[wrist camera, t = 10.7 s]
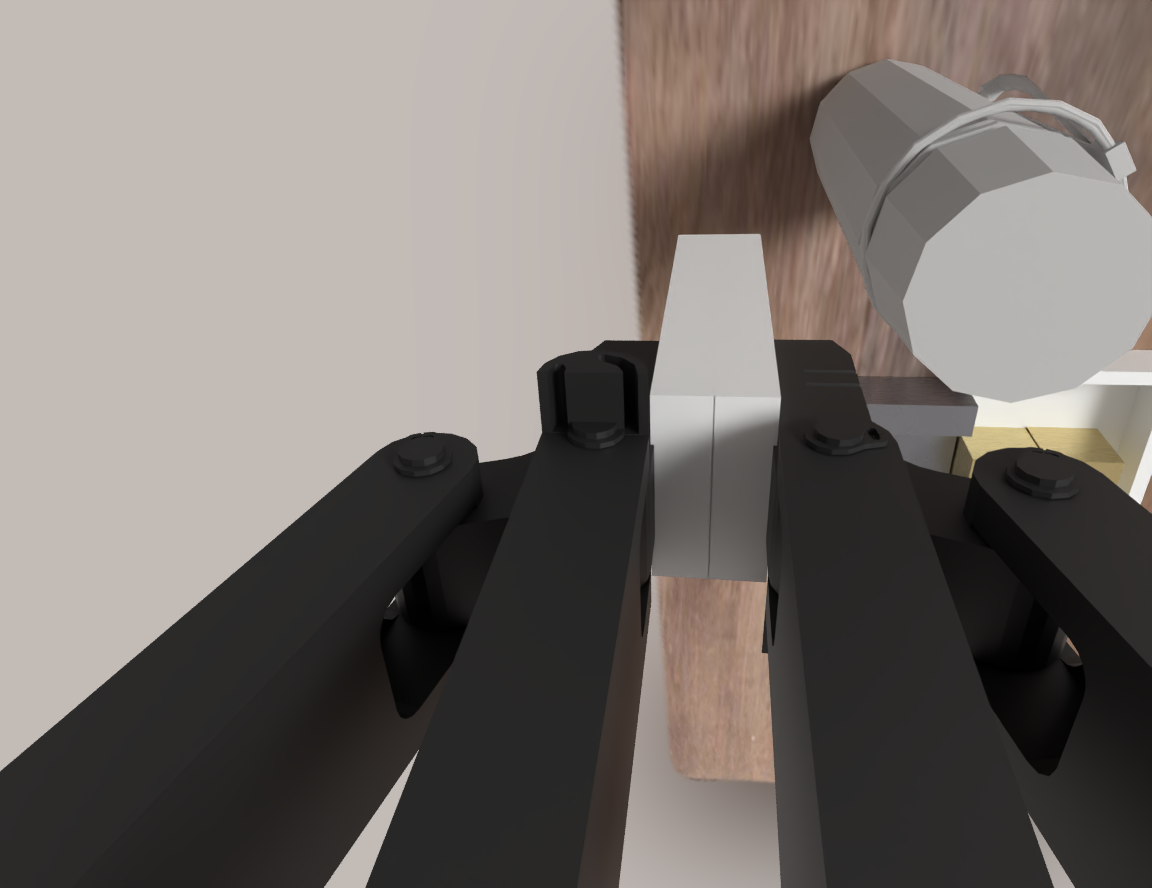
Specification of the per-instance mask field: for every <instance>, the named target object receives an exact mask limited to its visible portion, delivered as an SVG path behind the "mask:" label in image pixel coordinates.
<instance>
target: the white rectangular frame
mask: <svg viewBox="0 0 1152 888" xmlns="http://www.w3.org/2000/svg"><path fill="white" fill-rule="evenodd" d="M972 396H973V398H974V399H975V401H976V403H977V405H978V406H979V407H978V411H977V416H976V420H975V425H974V426H978V427H1010V428H1026V427H1059V428H1094V429H1098V430H1099V431H1100V433H1101V434H1102V435H1103V436H1104V438H1105V439H1106V440H1107V441H1108V443H1109V444H1110V445H1111V446H1112V448H1113V449H1114V450H1115V451H1116V453H1117V454H1118V455H1119V456H1120V458H1121V459H1122V460H1123V461H1124V463H1125V465H1124V468H1123V471H1122V474H1121V476H1120V479H1119V482H1118V485H1117V486H1118V487H1120V488H1121V489H1122V490H1123V491H1124V492H1126V493H1127V494H1128V495H1129V496H1130V497H1132V498H1133V499H1134V500H1135V501H1137V502H1138V503H1139V504H1141V501H1142V499H1143V496H1144V493H1145V490H1146V488H1147V485H1148V482H1149V480H1150V477H1151V474H1152V350H1129V351H1128V352H1126V353H1125V354H1124V355H1122V356H1121V357H1119V358H1118V359H1117V360H1115V361H1114V362H1112V363H1111V364H1109V365H1108V366H1107V367H1105V368H1104V369H1102V370H1101V371H1100V372H1098V373H1097V374H1095V375H1094V376H1092V377H1091V378H1090V379H1088V380H1087V381H1085V382H1084V383H1083V384H1081V385H1080V386H1078V387H1077V388H1075V389H1070V390H1066V391H1061V392H1057V393H1053V394H1048V395H1044V396H1040V397H1035V398H1031V399H1026V400H1022V401H1018V402H1013V403H1008V402H1004V401H999V400H994V399H989V398H984V397H980V396H975V395H972Z"/></svg>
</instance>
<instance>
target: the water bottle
mask: <svg viewBox="0 0 1152 888" xmlns="http://www.w3.org/2000/svg"><path fill="white" fill-rule="evenodd" d="M1010 90H1017V91H1022V92H1026V93H1030V94H1031V95H1032V96H1033V97H1034V98H1035V99H1024V98H1006V99H1003V100H1000V101H997V102H993V101H994V100H995V99H996V98H997V97H998V96H999V95H1000V94H1001V93H1002V92H1003V91H1010ZM1017 111H1033V112H1040V113H1048V114H1051V115H1052V116H1054V117H1055V118H1056V119H1057V120H1058V121H1059V122H1060V123H1061V124H1062V125H1063V126H1064V127H1065V128H1066V129H1067V130H1068V131H1069V132H1070V133H1071V134H1072V135H1073V136H1074V137H1073V136H1071V135H1068V134H1066V133H1064V132H1061V131H1059V130H1057V129H1055V128H1052V127H1050V126H1048V125H1045V124H1043V123H1041V122H1039V121H1036V120H1034V119H1032V118H1029V117H1027V116H1025V115H1022V114H1020V113H1018V112H1017ZM1078 125H1079V126H1080V127H1082V128H1083V129H1085V130H1086V131H1088V132H1089V133H1090V135H1091V136H1092V137H1093V138H1094V139H1095V141H1093V140H1092V139H1091V138H1090V137H1089V136H1088V135H1087V134H1086V133H1085V132H1084V131H1083V130H1082V129H1081V128H1080V127H1079V126H1078ZM810 144H811V148H812V152H813V157H814V161H815V165H816V169H817V173H818V176H819V178H820V180H821V182H822V185H823V187H824V189H825V192H826V194H827V196H828V198H829V201H830V203H831V205H832V208H833V210H834V212H835V215H836V217H837V219H838V221H839V224H840V226H841V228H842V231H843V233H844V235H845V238H846V240H847V242H848V244H849V247H850V249H851V251H852V254H853V256H854V258H855V261H856V263H857V265H858V267H859V270H860V272H861V274H862V277H863V280H864V284H865V289H866V291H867V293H868V296H869V298H870V301H871V304H872V307H873V308H874V309H875V310H876V311H877V312H878V313H879V315H880V316H881V317H882V319H883V320H884V321H885V322H886V323H887V324H888V325H889V326H890V327H891V328H893V330H894V331H895V332H896V333H897V335H898V336H899V337H900V338H901V340H902V341H903V342H904V343H905V345H906V346H907V347H908V348H909V350H910V351H911V352H912V354H913V355H914V356H915V357H916V358H918V359H919V360H920V361H921V362H922V363H923V364H924V365H925V366H926V367H927V368H928V369H929V370H931V371H932V372H933V373H934V374H935V375H936V376H937V377H938V378H939V379H940V380H941V381H942V382H944V383H945V384H946V385H947V386H948V387H949V388H950V389H951V390H952V391H955V392H960V393H965V394H970V395H975V396H980V397H984V398H989V399H994V400H999V401H1004V402H1008V403H1013V402H1018V401H1022V400H1026V399H1031V398H1035V397H1040V396H1044V395H1048V394H1053V393H1057V392H1061V391H1066V390H1070V389H1075V388H1077V387H1078V386H1080V385H1081V384H1083V383H1084V382H1085V381H1087V380H1088V379H1090V378H1091V377H1092V376H1094V375H1095V374H1097V373H1098V372H1100V371H1101V370H1102V369H1104V368H1105V367H1107V366H1108V365H1109V364H1111V363H1112V362H1114V361H1115V360H1117V359H1118V358H1119V357H1121V356H1122V355H1124V354H1125V353H1126V352H1128V351H1129V350H1131V349H1132V348H1133V347H1134V345H1135V343H1136V342H1137V340H1138V338H1139V336H1140V335H1141V333H1142V331H1143V330H1144V328H1145V326H1146V324H1147V323H1148V321H1149V319H1150V317H1151V316H1152V216H1151V215H1150V214H1149V213H1148V212H1147V211H1146V210H1145V209H1144V208H1143V207H1142V206H1141V205H1140V203H1139V202H1138V201H1137V200H1136V199H1135V198H1134V197H1133V196H1132V195H1131V194H1130V193H1129V192H1128V185H1127V177H1126V176H1128V175H1129V174H1131V173H1133V172H1134V171H1136V168H1135V165H1134V163H1133V160H1132V158H1131V155H1130V153H1129V150H1128V148H1127V146H1126V143H1125V142H1124V141H1113V139H1112V137H1111V136H1110V134H1109V133H1108V131H1107V130H1106V128H1105V127H1104V125H1103V124H1102V122H1101V120H1100V119H1098V118H1096V117H1094V116H1092V115H1090V114H1088V113H1086V112H1083V111H1081V110H1079V109H1077V108H1075V107H1073V106H1071V105H1069V104H1067V103H1065V102H1063V101H1061V100H1051V99H1050V98H1049V97H1048V96H1047V95H1046V94H1045V93H1044V92H1043V91H1041V90H1040V89H1039V88H1038V87H1037V86H1036V85H1035V84H1034V83H1033V82H1032V81H1031V80H1030V79H1029V78H1028V77H1027V76H1023V75H1017V74H1002V75H998V76H997V77H995V78H993V79H992V80H990V81H989V82H987V83H985V84H984V85H982V86H981V87H980V89H979V91H978V93H975V92H973V91H971V90H969V89H967V88H965V87H963V86H961V85H959V84H957V83H955V82H954V81H952V80H950V79H948V78H946V77H944V76H942V75H940V74H938V73H936V72H934V71H932V70H930V69H928V68H926V67H924V66H922V65H917V64H912V63H907V62H901V61H896V60H890V59H883V60H880V61H878V62H875V63H872V64H870V65H867V66H864V67H862V68H859V69H856V70H853V71H851V72H848V73H847V74H846V75H845V76H844V77H843V78H842V79H841V81H840V82H839V83H838V84H837V85H836V86H835V87H834V88H833V89H832V90H831V91H830V92H829V93H828V95H827V96H826V97H825V98H824V99H823V100H822V101H821V102H820V105H819V108H818V112H817V115H816V118H815V122H814V125H813V129H812V132H811V135H810Z"/></svg>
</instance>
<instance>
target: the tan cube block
mask: <svg viewBox="0 0 1152 888" xmlns="http://www.w3.org/2000/svg"><path fill="white" fill-rule="evenodd" d="M1026 447H1036V448H1038V447H1037V446H1036V444H1035V442H1034V441H1033V439H1032V438H1031V436H1030V435H1029V433H1028V432H1027V430H1026V428H1010V427H978V426H974V429H973V434H972V437H961V436H957V439H956V443H955V448H954V453H953V457H952V462H951V467H950V472H949V474H953V475H958V476H963V477H968V478H971V477H972V472H973V468H974V464H975V460H977V459H978V458H980V457H981V456H982V455H984V454H985V453H987V452H989V451H994V450H999V449H1003V448H1026Z"/></svg>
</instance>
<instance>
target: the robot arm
mask: <svg viewBox="0 0 1152 888" xmlns="http://www.w3.org/2000/svg"><path fill="white" fill-rule="evenodd" d="M537 379H538V390H539V402H540V412H541V424H542V435H541V437H540V440H539V442H538V445H537V447H536V450H535V451H534V452H531V453H528V454H526V455H523V456H518V457H514V458H509V459H503V460H497V461H490V462H483V463H479V460H478V454H477V447H476V446H475V445H474V444H472V443H471V442H470V441H469V440H468V439H466V438H463V437H460V436H457V435H454V434H445V433H435V432H426V433H424V434H421V433H418V434H413V435H410V436H408V437H406V438H403V439H400V440H397V441H394V442H392V443H390V444H389V445H387V446H385V447H384V448H382V449H380V450H379V451H377V452H376V453H375V454H374V455H373V456H371V457H370V458H369V459H368V460H367V461H365V462H364V463H363V464H362V465H361V466H360V467H359V468H357V469H356V470H355V471H354V472H352V473H351V474H350V475H349V476H348V477H347V478H345V479H344V480H343V481H342V482H341V483H340V484H338V485H337V486H336V487H335V488H334V489H333V490H331V491H330V492H329V493H328V494H327V495H325V497H323V498H322V499H321V500H319V501H318V502H317V503H316V504H315V505H314V506H313V507H311V508H310V509H309V510H308V511H307V512H305V513H304V514H303V515H302V516H301V517H300V518H298V519H297V520H296V521H295V522H294V523H293V524H291V525H290V526H289V527H288V528H287V529H285V530H284V531H283V532H282V533H281V534H279V535H278V536H277V537H276V538H275V539H274V540H272V541H271V542H270V543H269V544H268V545H266V546H265V547H264V548H263V549H262V550H261V551H259V552H258V553H257V554H256V555H255V556H254V557H252V558H251V559H250V560H249V561H248V562H246V563H245V564H244V565H243V566H242V567H241V568H239V569H238V570H237V571H236V572H235V573H233V574H232V575H231V576H230V577H229V578H228V579H227V580H225V581H224V582H223V583H222V584H221V585H219V586H218V587H217V588H216V589H215V590H214V591H212V592H211V593H210V594H209V595H208V596H206V597H205V598H204V599H203V600H202V601H201V602H200V603H198V604H197V605H196V606H195V607H193V608H192V609H191V610H190V611H189V612H188V613H186V614H185V615H184V616H183V617H182V618H181V619H179V620H178V621H177V622H176V623H175V624H173V625H172V626H171V627H170V628H169V629H168V630H166V631H165V632H164V633H163V634H162V635H160V636H159V637H158V638H157V639H156V640H155V641H153V642H152V643H151V644H150V645H149V646H148V647H146V648H145V649H144V650H143V651H142V652H141V653H139V654H138V655H137V656H136V657H135V658H133V659H132V660H131V661H130V662H129V663H127V665H125V666H124V667H123V668H122V669H120V670H119V671H118V672H117V673H116V674H115V675H113V676H112V677H111V678H110V679H109V680H107V681H106V682H105V683H104V684H103V685H102V686H100V687H99V688H98V689H97V690H96V691H94V692H93V693H92V694H91V695H90V696H89V697H87V698H86V699H85V700H84V701H83V702H82V703H80V704H79V705H78V706H77V707H76V708H75V709H73V710H72V711H71V712H70V713H69V714H67V715H66V716H65V717H64V718H63V719H62V720H60V721H59V722H58V723H57V724H56V725H54V726H53V727H52V728H51V729H50V730H49V731H47V732H46V733H45V734H44V735H43V736H41V737H40V738H39V739H38V740H37V741H36V742H34V743H33V744H32V745H31V746H30V747H29V748H27V749H26V750H25V751H24V752H23V753H21V754H20V755H19V756H18V757H17V758H16V759H14V760H13V761H12V762H11V763H10V764H8V765H7V766H6V767H5V768H4V769H3V770H1V771H0V888H324V886H325V885H326V883H327V882H328V881H329V879H330V878H331V876H332V875H333V873H334V872H335V870H336V869H337V867H338V866H339V865H340V863H341V862H342V860H343V859H344V857H345V856H346V854H347V853H348V851H349V850H350V849H351V847H352V846H353V844H354V843H355V841H356V840H357V838H358V837H359V836H360V834H361V833H362V831H363V830H364V828H365V827H366V825H367V824H368V822H369V821H370V820H371V818H372V817H373V815H374V814H375V812H376V811H377V809H378V808H379V807H380V805H381V804H382V802H383V801H384V799H385V798H386V796H387V795H388V793H389V792H390V791H391V789H392V788H393V786H394V785H395V783H396V782H397V780H398V779H399V777H400V776H401V775H402V773H403V772H404V770H405V769H406V767H407V766H408V764H409V763H410V761H411V760H412V759H413V757H414V756H415V754H416V753H417V751H418V750H419V751H418V754H417V756H416V759H415V762H414V764H413V767H412V769H411V772H410V775H409V777H408V780H407V782H406V785H405V788H404V790H403V792H402V795H401V798H400V800H399V803H398V805H397V808H396V810H395V813H394V816H393V818H392V821H391V824H390V826H389V828H388V831H387V834H386V836H385V839H384V841H383V844H382V846H381V849H380V852H379V854H378V857H377V859H376V862H375V865H374V867H373V870H372V872H371V875H370V877H369V880H368V882H367V885H366V888H619V879H620V870H621V861H622V853H623V844H624V835H625V827H626V817H627V809H628V799H629V792H630V782H631V774H632V765H633V757H634V748H635V739H636V730H637V722H638V713H639V704H640V695H641V687H642V678H643V669H644V660H645V652H646V643H647V634H648V625H649V616H650V608H651V566H652V575H653V576H670V577H687V578H704V579H720V580H737V581H754V582H766V577H767V565H768V584H767V596H766V609H765V621H764V633H763V645H762V653H768V661H769V679H770V697H771V715H772V733H773V750H774V768H775V786H776V804H777V822H778V840H779V855H780V856H779V857H780V875H781V888H1054V886H1053V884H1052V881H1051V878H1050V875H1049V872H1048V869H1047V867H1046V864H1045V861H1044V858H1043V855H1042V852H1041V849H1040V847H1039V844H1038V841H1037V838H1036V835H1035V832H1034V830H1033V827H1032V824H1031V821H1030V818H1029V815H1030V816H1031V818H1032V819H1033V821H1034V823H1035V824H1036V826H1037V827H1038V829H1039V831H1040V832H1041V834H1042V835H1043V837H1044V839H1045V840H1046V842H1047V843H1048V845H1049V847H1050V848H1051V850H1052V851H1053V853H1054V855H1055V856H1056V858H1057V859H1058V861H1059V862H1060V864H1061V865H1062V867H1063V869H1064V870H1065V872H1066V874H1067V875H1068V877H1069V878H1070V880H1071V882H1072V883H1073V885H1074V886H1075V888H1152V514H1151V513H1150V512H1149V511H1147V510H1146V509H1145V508H1144V507H1143V506H1141V505H1140V504H1139V503H1138V502H1137V501H1135V500H1134V499H1133V498H1132V497H1130V496H1129V495H1128V494H1127V493H1126V492H1124V491H1123V490H1122V489H1121V488H1120V487H1118V486H1117V485H1116V484H1115V483H1114V482H1112V481H1111V480H1110V479H1109V478H1108V477H1106V476H1105V475H1104V474H1103V473H1101V472H1099V471H1098V470H1096V469H1094V468H1093V467H1091V466H1090V465H1088V464H1086V463H1085V462H1083V461H1080V460H1077V459H1075V458H1072V457H1069V456H1066V455H1064V454H1062V453H1061V452H1058V451H1054V450H1049V449H1046V450H1043V448H1036V447H1026V448H1003V449H999V450H994V451H989V452H987V453H985V454H984V455H982V456H981V457H980V458H978V459H977V460H975V464H974V468H973V472H972V477H971V478H968V477H963V476H958V475H953V474H948V473H943V472H938V471H934V470H931V469H927V468H923V467H919V466H917V465H914V464H912V463H909V462H907V461H905V460H903V457H902V454H901V451H900V448H899V445H898V442H897V441H896V440H895V438H894V437H893V436H892V434H891V433H890V432H889V431H888V430H886V429H884V428H883V427H881V426H879V425H878V424H876V423H874V422H872V420H871V417H870V414H869V411H868V408H867V404H866V401H865V398H864V395H863V392H862V389H861V387H860V382H859V379H858V376H857V374H856V370H855V367H854V363H853V360H852V357H851V354H849V353H848V352H847V351H846V350H844V349H843V348H842V347H840V346H839V345H838V344H836V343H835V342H834V341H832V340H774V338H773V330H772V322H771V314H770V306H769V298H768V290H767V282H766V274H765V266H764V258H763V250H762V242H761V234H710V235H678V240H677V246H676V252H675V257H674V263H673V268H672V274H671V280H670V285H669V291H668V296H667V302H666V308H665V313H664V319H663V324H662V330H661V336H660V341H610V340H606V341H604V342H602V343H601V344H600V345H599V346H597V347H596V348H594V349H593V350H591V351H578V352H574V353H570V354H565V355H561V356H558V357H556V358H554V359H552V360H550V361H548V362H546V363H545V364H544V365H543V366H542V367H541V368H540V369H539V370H538V371H537ZM394 597H395V598H396V599H395V600H394V601H393V603H392V604H391V605H390V603H391V601H392V600H393V598H394ZM389 605H390V606H389ZM388 606H389V607H388ZM1067 637H1068V638H1069V639H1070V640H1071V642H1072V643H1073V645H1074V646H1075V648H1076V650H1077V651H1078V653H1079V656H1080V657H1079V656H1078V655H1077V654H1076V653H1075V651H1074V650H1073V649H1072V648H1071V647H1070V646H1069V644H1068V643H1067V642H1066V640H1067ZM419 748H420V749H419ZM1028 813H1029V815H1028Z"/></svg>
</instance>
